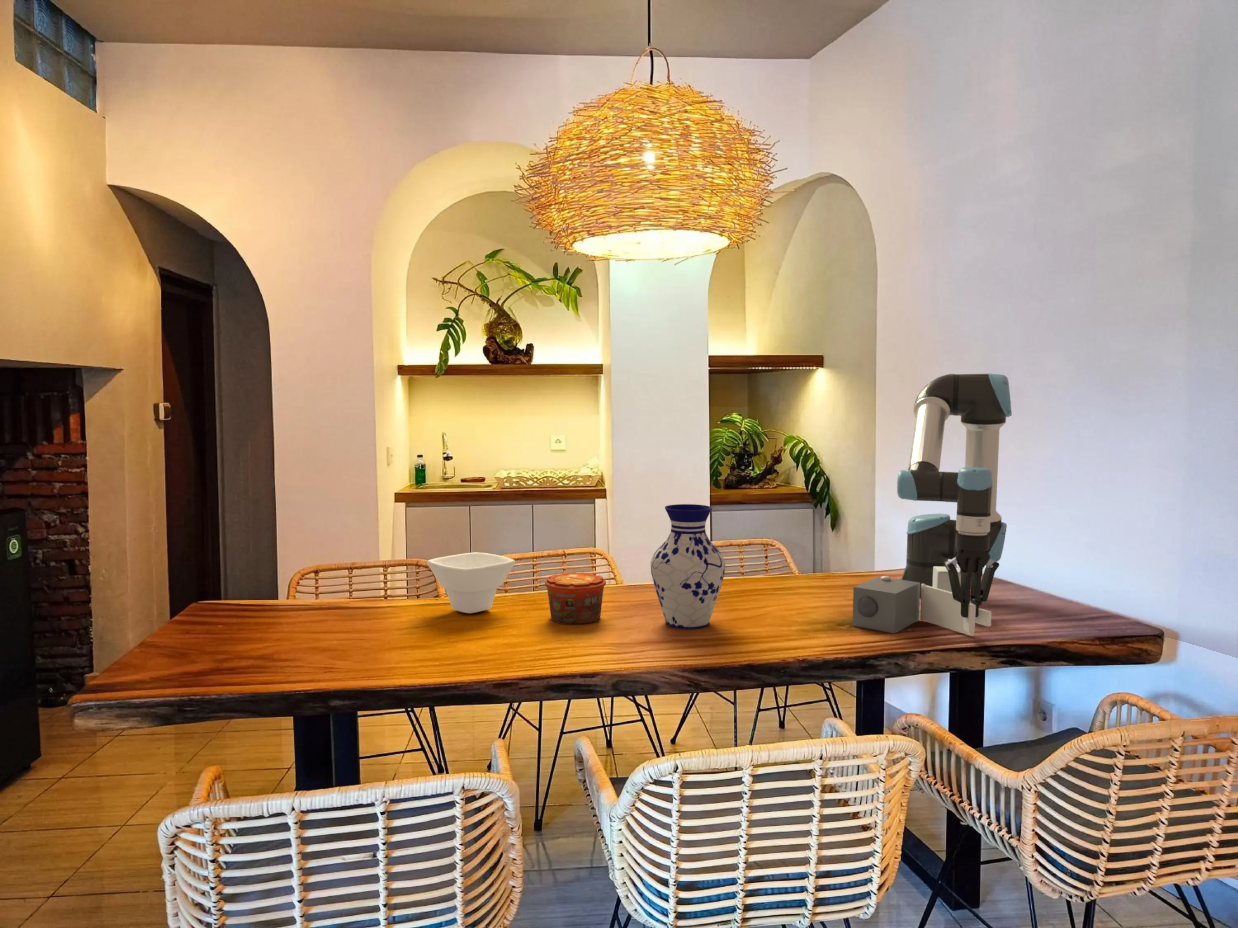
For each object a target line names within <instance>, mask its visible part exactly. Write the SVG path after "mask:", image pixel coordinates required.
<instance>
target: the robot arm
mask: <svg viewBox="0 0 1238 928" xmlns="http://www.w3.org/2000/svg"><path fill="white" fill-rule="evenodd" d="M913 404H914V405H913V416H914V417H915V423H914V428H913V429H914V430H913V435H912V442H911V448H910V454H909V455H910V456H909V463H908V466H907V467H908V468H907V469H903V470H899V472H898V474H897V481H896V484H897V485H896V490H897V491H896V493H897V496H898V498H899V499H901V500H906V501H907V500H909V501H915V502H916V501H919V502H920V501H921V502H922V501H923V502H924V501H925V502H946V503H956V517H955V518H956V519H951V516H950V514H947V513H928V514H926V513H925V514H919V515H915V516H912V517H911V518H910V519H908V522H907V531H906V534H907V535H906V537H907V538H906V539H907V541H906V542H907V543H906V562H905V563H906V564H905V568H904V571H903V573H902V575H901V578H900V580H906V581H913V582H919V583H920V598H921V585H922V584H926V585H927V586H931V587H933V567H934V566H940V567H946V569H947V570H948V575H949V580H950V585H951V590H952V595H953V599H954V600H956V601H958V602H960V603H961V616H962V617H964V620H963V629H964V630H966V631H968V632H974V633H975V630H976V623H975V617H978V615H979V608H980V606H981V605H982V604H983V602H984V603H985V602H987V601H988V598H989V596H990V595H989V594H990V591H991V588H992V584H993V580H994V576H995V573H996V571H997V570H998V569H999V566H1000V563H999V561H1000V560H1001V558H1002V554H1003V550H1004V545H1005V541H1006V540H1005V539H1006V535H1007V534H1006V533H1007V529H1008V528H1007V527H1008V526H1007V523H1006V522H1004V521H1002V515H1001V514H1000V513H999V512H998V511H997V499H998V498H997V495H998V469H999V449H1000V448H999V447H1000V445H999V444H1000V429H1001V428H1002V427H1003V426H1004V425H1005V424H1006V423H1007V420H1006V419H1007V418H1010V417H1011V416H1012V412H1013V411H1012V402H1011V391H1010V383H1009V378H1008V377H1007V376H1006V375H1004V374H1001V373H999V374H998V373H961V374H958V373H957V374H955V373H949V374H944V375H942V376H939V377H936V378H935V379H933V380H932V381H929V383H927V384H926V385H925V386H924V387H923V388H922V389H921V390H920V391H919V393H918V395H917V396H916V398H915V401H914V403H913ZM950 416H954V417H956V416H959V417H960V423H961V424H962V425H963V426H964V427H965V429H966V430H965V431H966V432H965V453H964V454H965V457H964V458H965V459H964V467H961V468H959V469H958V471H957V472H955V471H940V467H941V459H942V458H941V457H942V450H943V440H944V433H945V432H944V431H945V424H946V421H947V420H948V419H949V417H950ZM957 567H960V574H961V587H960V582H959V577H958V572H957V570H956V568H957ZM983 570H984V571H983ZM970 601H971V603H970Z"/></svg>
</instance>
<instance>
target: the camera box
mask: <svg viewBox="0 0 1238 928" xmlns="http://www.w3.org/2000/svg"><path fill="white" fill-rule="evenodd" d="M852 591H853V592H852V593H853V594H852V595H853V597H852V626H853V627H859V628H863V629H869V630H874V631H879V632H885V633H889V634H890V633H891V634H897V633H898V632H900V631H902V630H904V629H905V628H908V627H909V626H912V624H915V623H917V622H919V620H920V603H921V597H920V583H919V582H913V581H906V580H901V579H898V578H892V577H891V576H888V575H883V576H881V575H880V576H877V577H874V578H872V579H870V580H868V581H865V582H863V583H860V584H858V585H855V586H853V590H852Z"/></svg>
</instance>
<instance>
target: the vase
mask: <svg viewBox="0 0 1238 928" xmlns="http://www.w3.org/2000/svg"><path fill="white" fill-rule="evenodd" d="M664 509H665V512H666V513H667V516H668V518H669V520H670V525H671V526H670V532H669V534H668V537H666V539H665V541H664V542H662V544H661V545H660V546H659V547H658V548H657V549H656V550H655V552H654V553H653V554H652V557H651V561H650V574H651V577H652V582H653V585H654V589H655V593H656V595H657V599H658V602H659V605H660V608H661V612H662V614H663V617H664V621H665V624H666V625H667V626H669V627H671V628H675V629H678V630H679V629H681V630H697V629H698V630H700V629H702V628H705V627H708V625H709V624H710V620H711V618H712V617H711V616H712V615H713V611H714V608H715V605H716V603H717V600H718V596H719V594H720V591H721V589H722V584H723V581H724V577H725V573H726V563H725V559H724V557H723V554H722V553H721V552H720V551H719V550H718V548H717V547H716V546H715V545H714V543H712V541H711V540H710V539H709V537H708V534H707V532H706V523H707V520H708V518H709V515H710V513H711V512H712V510H713V507H712V506H711V505H705V504H697V503H695V504H694V503H693V504H690V503H683V504H680V503H679V504H668V505H665V506H664Z"/></svg>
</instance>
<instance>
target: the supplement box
mask: <svg viewBox="0 0 1238 928" xmlns="http://www.w3.org/2000/svg"><path fill="white" fill-rule="evenodd" d="M956 570H957V572H958V577H959V582H960V587H961V574H960V567H959V566H957V568H956ZM933 587H935V588H938V589H942V590H945V591H949V592H952V590H951V585H950V580H949V575H948V570H947V569H946V567H940V566H934V567H933Z"/></svg>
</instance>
